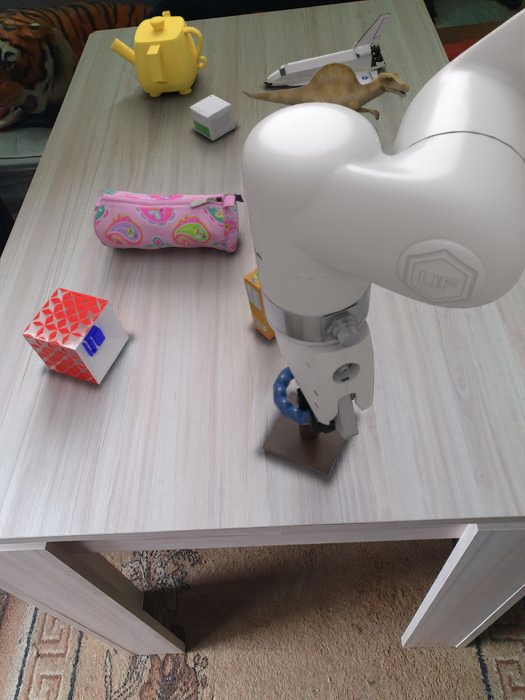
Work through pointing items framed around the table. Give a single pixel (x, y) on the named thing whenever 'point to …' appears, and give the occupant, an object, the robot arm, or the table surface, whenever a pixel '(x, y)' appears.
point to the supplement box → (257, 304)
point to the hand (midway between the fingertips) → (320, 415)
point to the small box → (212, 117)
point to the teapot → (164, 54)
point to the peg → (303, 444)
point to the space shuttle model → (337, 60)
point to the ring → (283, 401)
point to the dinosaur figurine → (337, 89)
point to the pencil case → (167, 220)
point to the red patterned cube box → (77, 335)
